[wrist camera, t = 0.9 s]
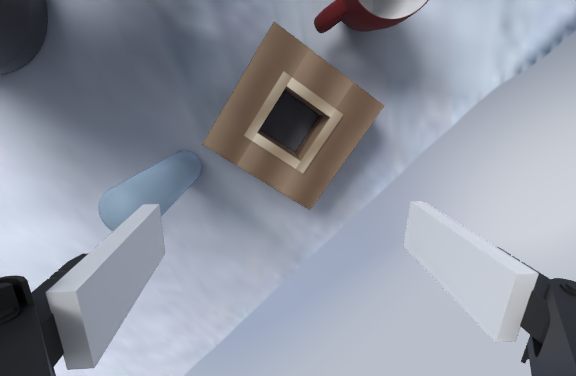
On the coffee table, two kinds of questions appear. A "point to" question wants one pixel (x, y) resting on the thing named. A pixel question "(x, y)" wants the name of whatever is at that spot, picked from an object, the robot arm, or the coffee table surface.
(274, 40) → the socket block
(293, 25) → the coffee table surface
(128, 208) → the peg
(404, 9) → the mug
